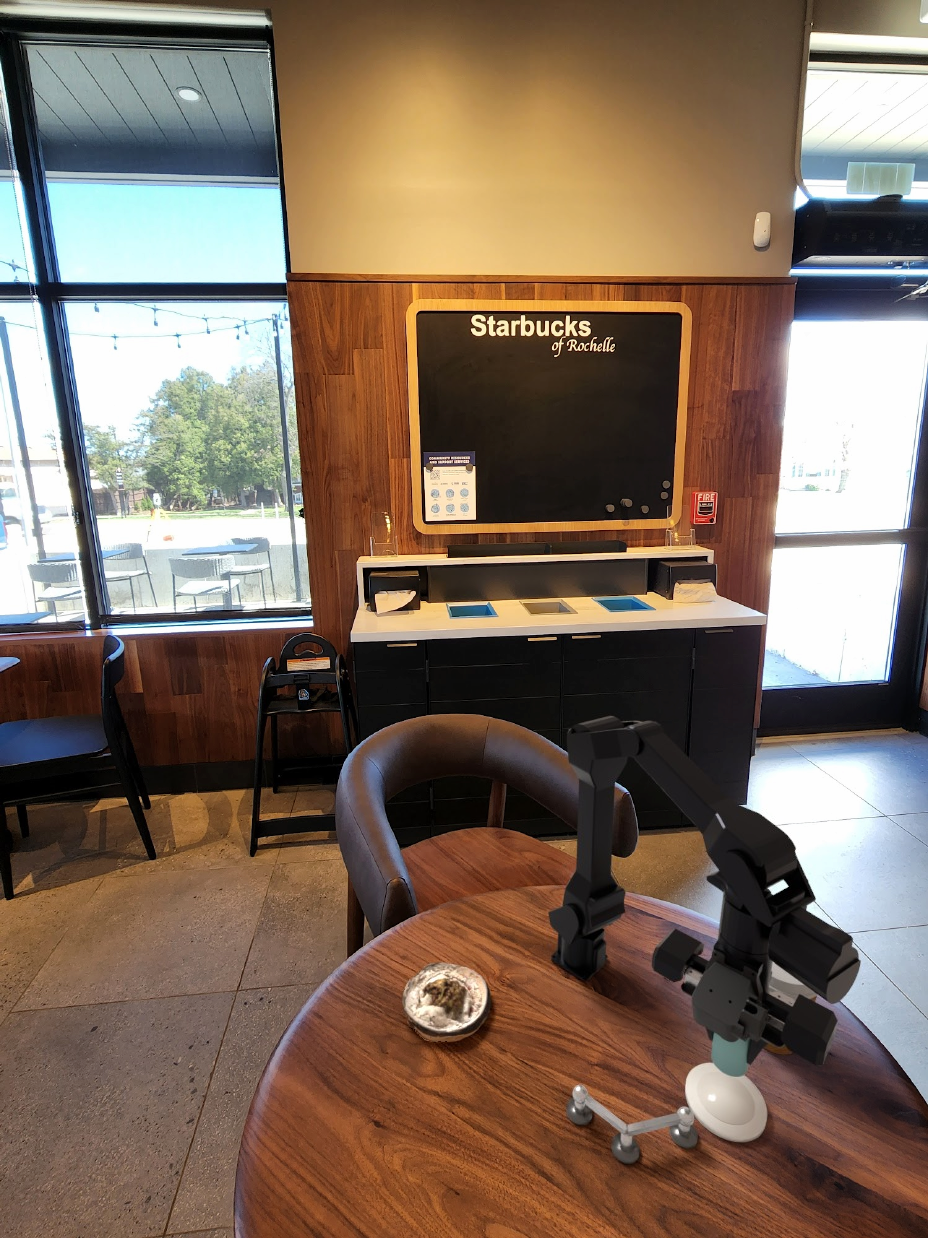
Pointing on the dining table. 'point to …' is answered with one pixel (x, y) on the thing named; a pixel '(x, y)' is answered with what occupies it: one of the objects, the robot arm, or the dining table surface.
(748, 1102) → the saucer
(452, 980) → the sushi roll
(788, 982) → the disposable coffee cup
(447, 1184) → the dining table surface
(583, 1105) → the railing
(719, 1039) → the peg
